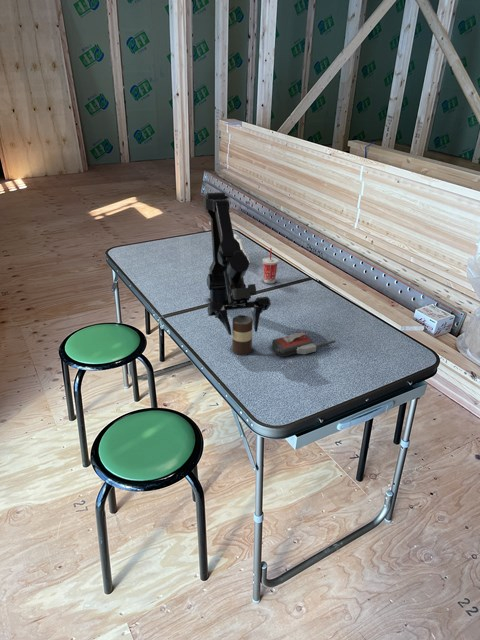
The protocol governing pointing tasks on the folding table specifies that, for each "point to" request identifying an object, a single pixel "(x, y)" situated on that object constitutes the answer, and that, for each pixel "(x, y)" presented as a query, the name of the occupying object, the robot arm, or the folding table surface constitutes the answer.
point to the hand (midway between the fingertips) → (243, 333)
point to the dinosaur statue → (240, 244)
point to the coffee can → (242, 334)
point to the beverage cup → (270, 269)
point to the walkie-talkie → (296, 344)
